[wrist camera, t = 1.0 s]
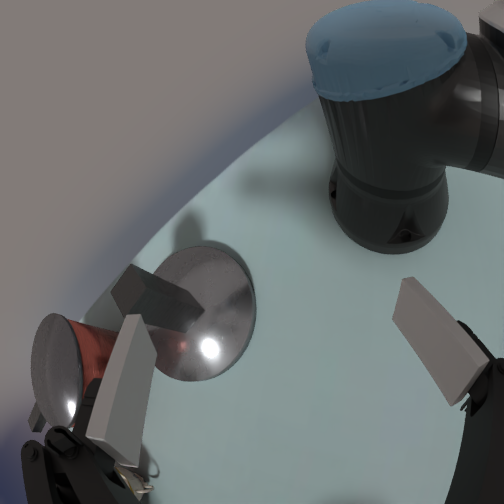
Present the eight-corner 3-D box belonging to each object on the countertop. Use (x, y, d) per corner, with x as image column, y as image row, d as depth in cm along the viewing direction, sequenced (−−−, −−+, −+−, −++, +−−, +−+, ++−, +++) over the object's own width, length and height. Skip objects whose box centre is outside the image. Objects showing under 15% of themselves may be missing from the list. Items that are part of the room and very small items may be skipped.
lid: (199, 228, 40) (146, 185, 30) (287, 305, 30) (244, 274, 20) (129, 316, 39) (68, 296, 29) (192, 408, 30) (121, 417, 19)
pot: (115, 309, 41) (57, 289, 30) (164, 389, 32) (93, 388, 22) (61, 394, 40) (14, 388, 29) (94, 462, 31) (42, 467, 21)
